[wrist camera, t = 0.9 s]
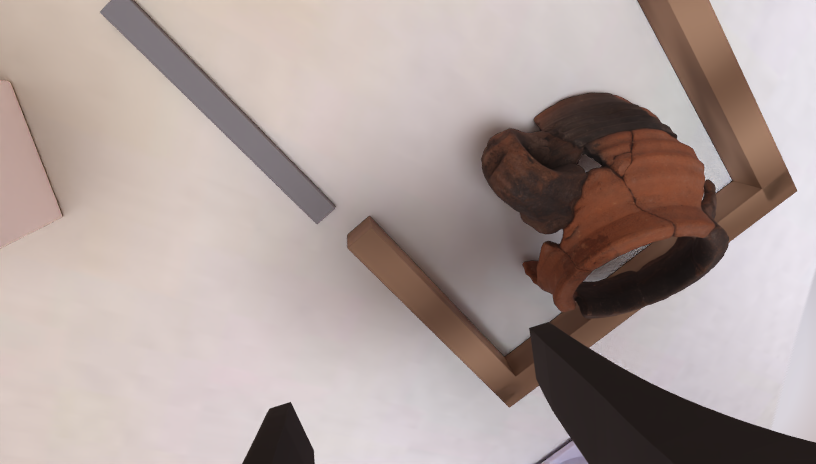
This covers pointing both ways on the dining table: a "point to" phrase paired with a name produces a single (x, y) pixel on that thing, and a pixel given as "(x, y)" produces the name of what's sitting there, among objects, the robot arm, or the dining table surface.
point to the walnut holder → (735, 212)
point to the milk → (21, 175)
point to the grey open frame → (216, 105)
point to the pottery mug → (607, 202)
